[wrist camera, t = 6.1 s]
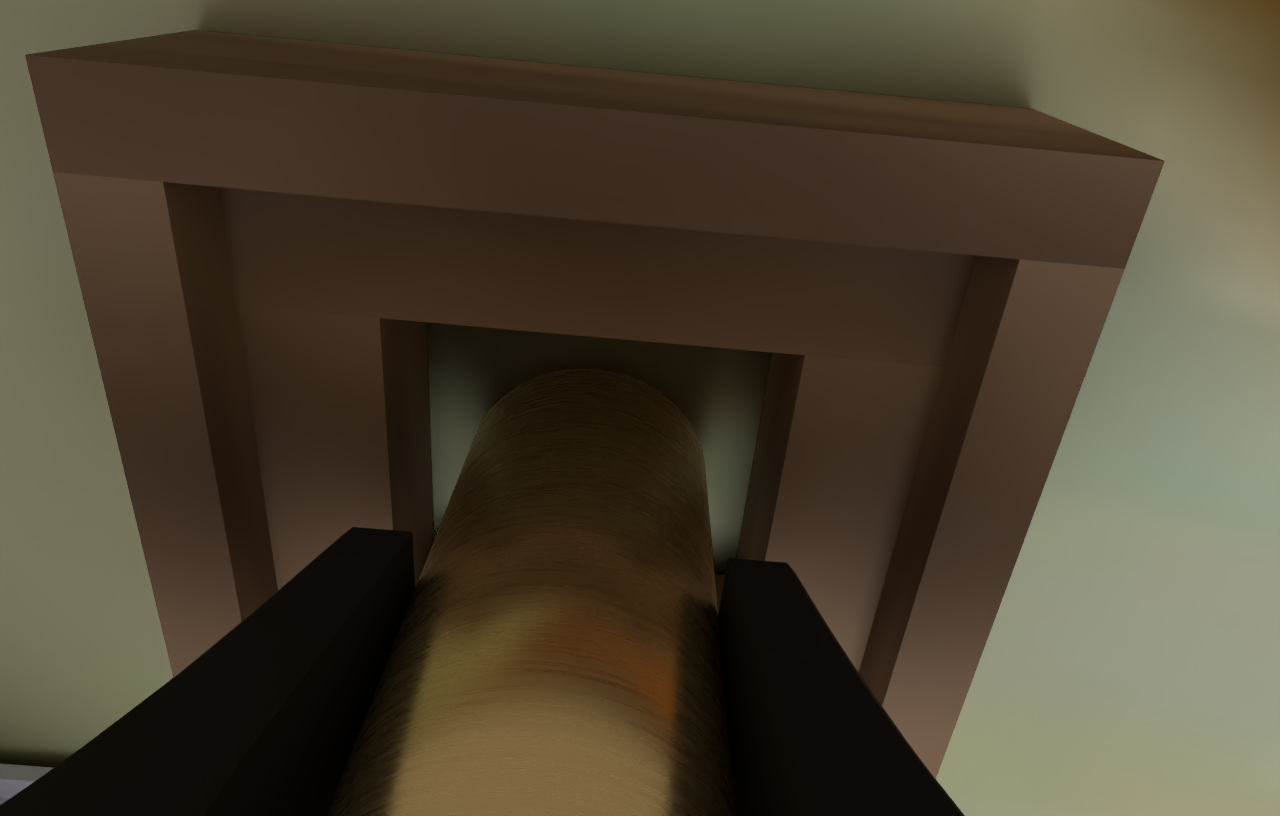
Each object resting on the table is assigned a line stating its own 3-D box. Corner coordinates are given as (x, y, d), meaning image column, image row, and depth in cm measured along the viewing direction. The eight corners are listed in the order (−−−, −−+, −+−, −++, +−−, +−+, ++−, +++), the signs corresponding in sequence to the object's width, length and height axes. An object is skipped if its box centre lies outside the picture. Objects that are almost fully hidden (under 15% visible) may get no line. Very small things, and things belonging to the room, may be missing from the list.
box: (859, 703, 15) (903, 865, 12) (288, 658, 15) (205, 813, 12) (1032, 108, 10) (1164, 161, 7) (194, 29, 10) (25, 55, 7)
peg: (698, 572, 12) (748, 1411, 5) (477, 564, 12) (228, 1388, 5) (713, 372, 11) (813, 1173, 4) (462, 364, 11) (78, 1139, 4)
